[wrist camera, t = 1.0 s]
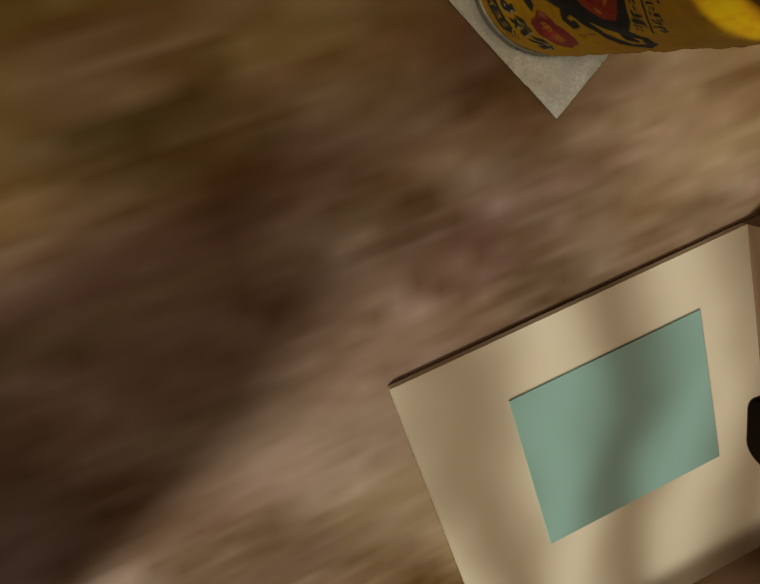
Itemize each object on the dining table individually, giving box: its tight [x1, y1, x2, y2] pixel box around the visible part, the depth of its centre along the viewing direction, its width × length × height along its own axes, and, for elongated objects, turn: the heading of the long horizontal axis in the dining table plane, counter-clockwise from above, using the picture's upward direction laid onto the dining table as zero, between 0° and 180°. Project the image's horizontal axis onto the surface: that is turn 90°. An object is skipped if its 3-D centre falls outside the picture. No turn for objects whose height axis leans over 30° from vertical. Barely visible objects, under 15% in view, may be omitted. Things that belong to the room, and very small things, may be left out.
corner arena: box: [388, 214, 760, 584], centre depth 26 cm, size 18×20×5 cm
